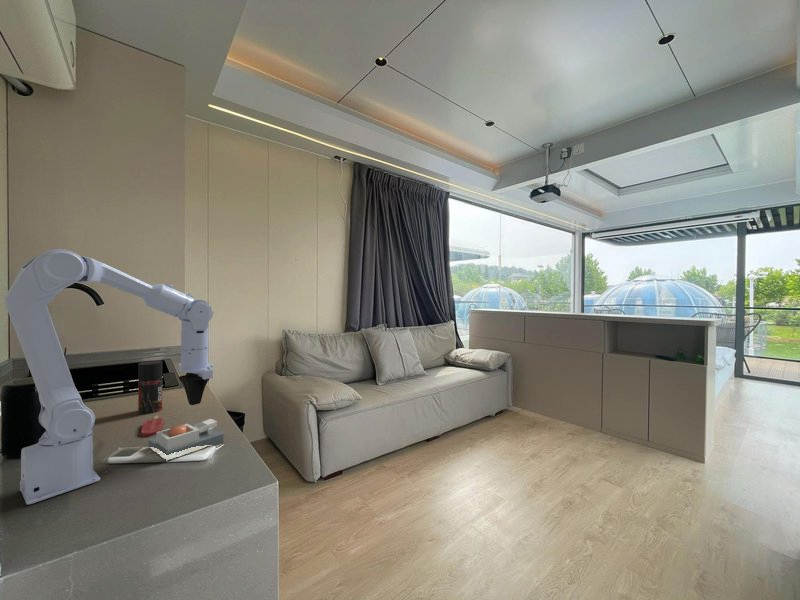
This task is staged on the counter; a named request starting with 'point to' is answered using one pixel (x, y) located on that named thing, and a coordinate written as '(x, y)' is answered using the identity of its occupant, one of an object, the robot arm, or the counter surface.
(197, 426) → the rocker
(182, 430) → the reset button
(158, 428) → the popsicle
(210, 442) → the breaker panel
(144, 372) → the deodorant
